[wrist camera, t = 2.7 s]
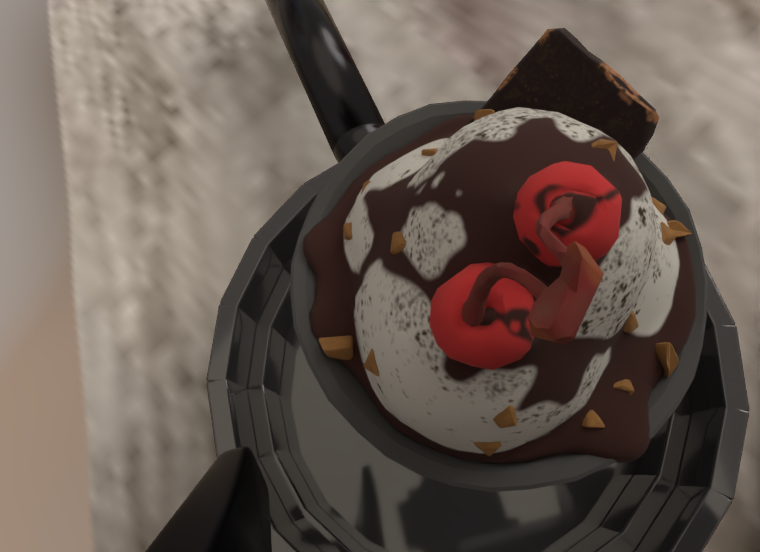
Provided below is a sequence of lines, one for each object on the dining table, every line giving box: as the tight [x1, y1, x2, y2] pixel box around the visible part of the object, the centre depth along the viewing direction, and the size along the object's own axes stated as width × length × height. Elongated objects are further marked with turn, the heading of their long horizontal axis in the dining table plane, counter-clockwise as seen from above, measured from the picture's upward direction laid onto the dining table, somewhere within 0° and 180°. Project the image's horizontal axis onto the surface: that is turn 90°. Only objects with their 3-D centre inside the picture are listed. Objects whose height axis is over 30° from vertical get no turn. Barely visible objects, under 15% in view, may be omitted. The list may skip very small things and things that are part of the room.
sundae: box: [290, 28, 708, 492], centre depth 11 cm, size 7×7×15 cm
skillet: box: [207, 162, 749, 552], centre depth 17 cm, size 14×14×4 cm
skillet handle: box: [265, 0, 385, 163], centre depth 20 cm, size 12×2×2 cm, turn 22°
